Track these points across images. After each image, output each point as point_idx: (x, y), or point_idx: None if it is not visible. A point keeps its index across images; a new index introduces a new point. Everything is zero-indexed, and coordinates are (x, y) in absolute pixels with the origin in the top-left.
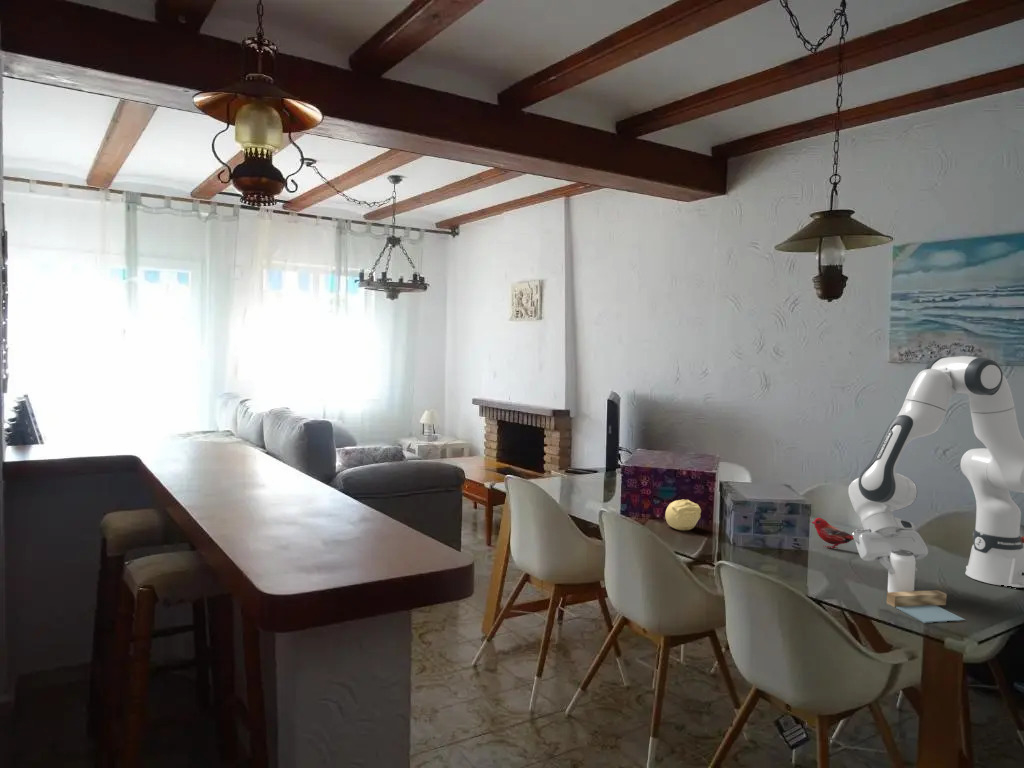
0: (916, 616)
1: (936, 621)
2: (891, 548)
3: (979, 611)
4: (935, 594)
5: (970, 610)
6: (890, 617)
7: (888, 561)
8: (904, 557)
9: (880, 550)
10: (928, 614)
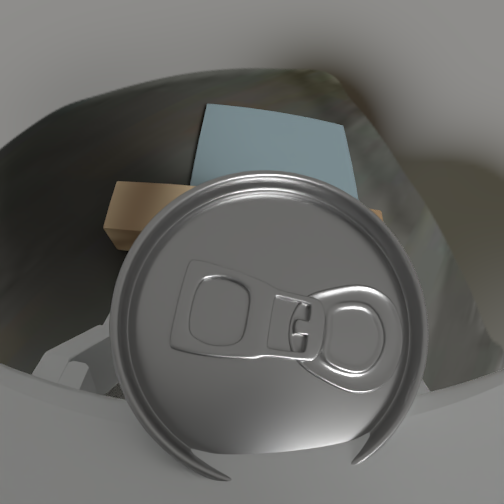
0: (344, 150)
1: (305, 118)
2: (366, 484)
3: (81, 149)
4: (173, 186)
5: (97, 157)
6: (408, 180)
7: None
8: (345, 213)
9: (491, 411)
10: (294, 147)
